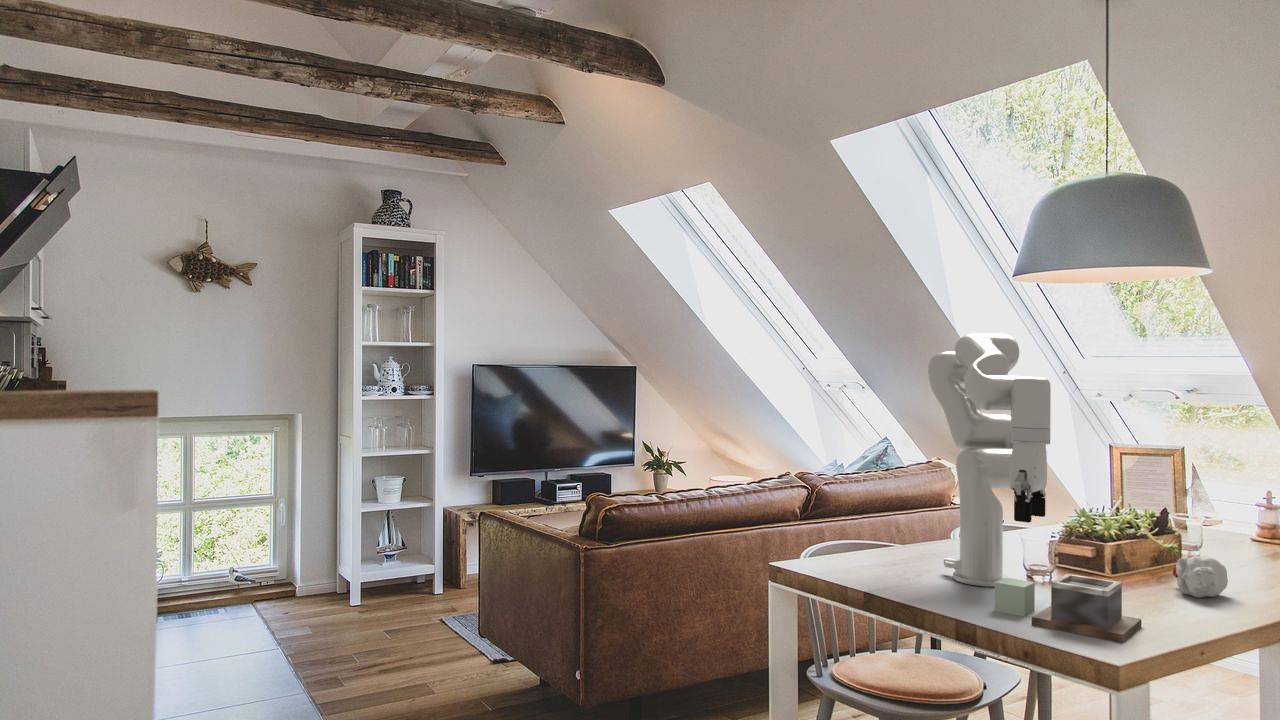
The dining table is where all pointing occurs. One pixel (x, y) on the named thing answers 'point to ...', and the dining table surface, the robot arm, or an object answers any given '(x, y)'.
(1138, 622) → the pillar base
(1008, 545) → the dining table surface
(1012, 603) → the sage block
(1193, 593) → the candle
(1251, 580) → the dining table surface
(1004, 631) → the dining table surface
